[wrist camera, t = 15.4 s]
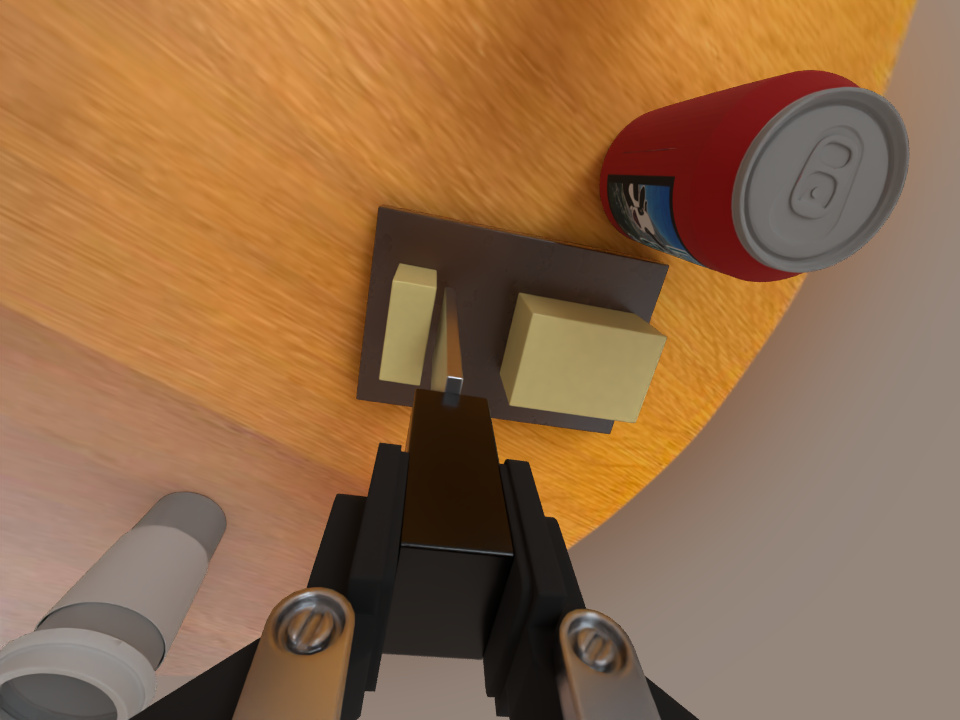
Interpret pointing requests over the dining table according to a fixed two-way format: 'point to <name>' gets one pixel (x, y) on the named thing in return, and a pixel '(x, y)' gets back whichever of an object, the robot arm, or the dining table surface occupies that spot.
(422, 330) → the butter slice
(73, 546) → the dining table surface
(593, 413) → the butter block
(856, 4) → the dining table surface
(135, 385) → the dining table surface
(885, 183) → the beverage can
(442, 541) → the knife
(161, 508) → the cup
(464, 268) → the board
